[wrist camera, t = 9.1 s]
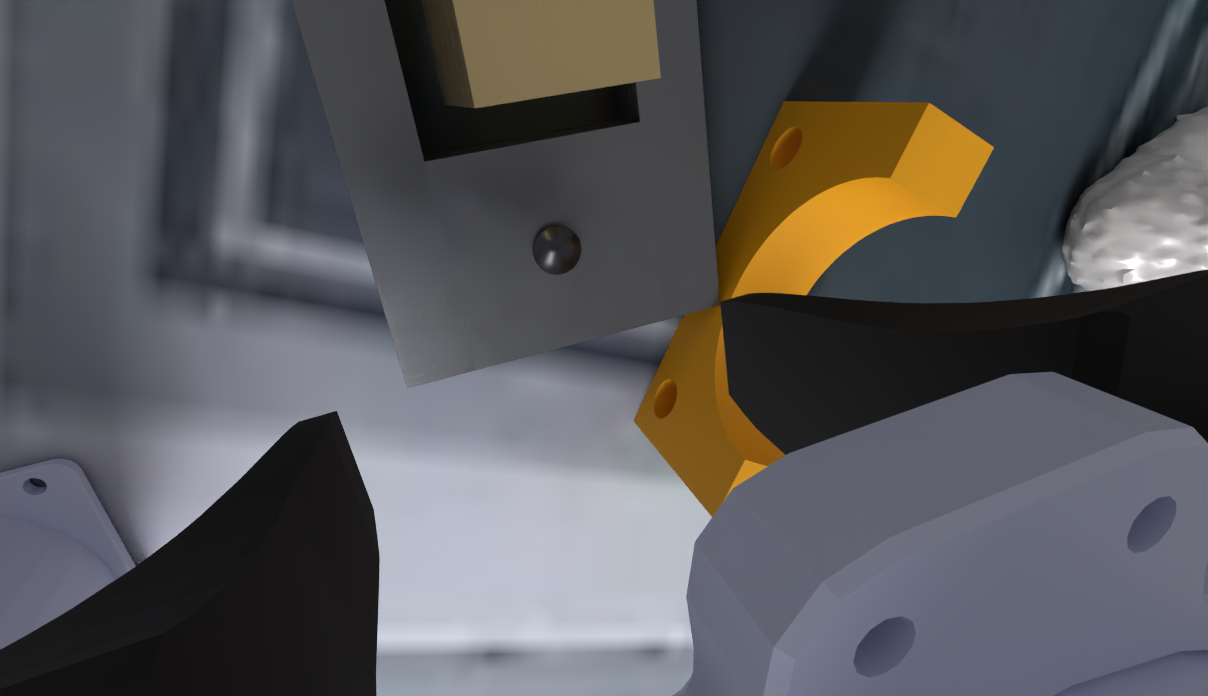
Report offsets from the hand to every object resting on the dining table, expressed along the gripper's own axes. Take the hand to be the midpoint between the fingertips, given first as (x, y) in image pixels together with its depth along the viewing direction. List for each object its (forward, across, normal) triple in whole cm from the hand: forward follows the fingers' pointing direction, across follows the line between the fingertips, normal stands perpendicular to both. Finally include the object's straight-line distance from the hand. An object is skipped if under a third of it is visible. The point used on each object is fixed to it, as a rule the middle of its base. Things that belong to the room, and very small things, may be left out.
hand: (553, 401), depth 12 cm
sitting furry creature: (+9, -27, +5) cm, 29 cm away
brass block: (+9, -2, -7) cm, 12 cm away
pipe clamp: (+10, -10, +3) cm, 14 cm away
